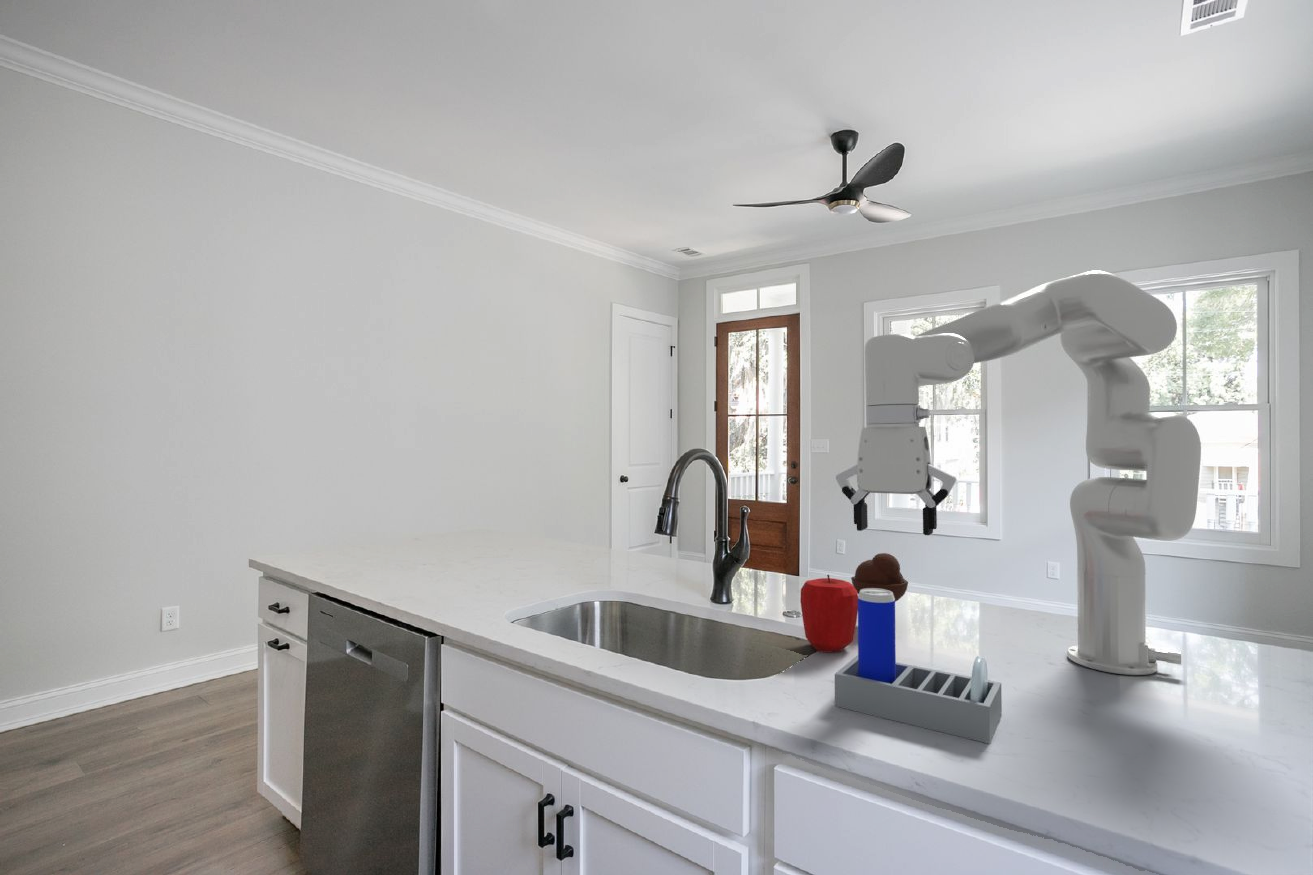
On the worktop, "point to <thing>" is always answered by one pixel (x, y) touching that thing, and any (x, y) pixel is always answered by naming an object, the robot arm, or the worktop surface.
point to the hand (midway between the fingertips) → (894, 531)
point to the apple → (829, 613)
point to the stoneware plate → (979, 680)
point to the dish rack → (922, 700)
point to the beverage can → (876, 635)
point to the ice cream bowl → (880, 575)
